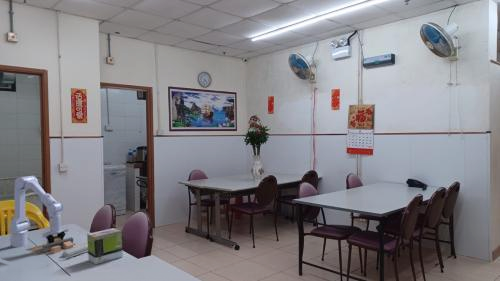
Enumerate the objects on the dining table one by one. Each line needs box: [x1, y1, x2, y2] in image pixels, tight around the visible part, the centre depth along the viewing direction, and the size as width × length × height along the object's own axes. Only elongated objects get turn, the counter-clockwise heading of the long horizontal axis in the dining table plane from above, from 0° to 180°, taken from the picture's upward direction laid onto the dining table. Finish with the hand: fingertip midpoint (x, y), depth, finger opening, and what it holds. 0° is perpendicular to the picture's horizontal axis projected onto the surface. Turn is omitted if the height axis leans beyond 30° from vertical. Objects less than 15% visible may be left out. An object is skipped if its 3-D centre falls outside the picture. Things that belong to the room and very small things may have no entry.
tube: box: [61, 242, 88, 260], centre depth 202 cm, size 5×5×25 cm
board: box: [25, 243, 77, 255], centre depth 209 cm, size 18×20×2 cm
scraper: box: [42, 234, 74, 254], centre depth 207 cm, size 9×17×5 cm, turn 150°
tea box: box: [86, 227, 124, 265], centre depth 192 cm, size 15×10×15 cm, turn 134°
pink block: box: [50, 246, 62, 254], centre depth 200 cm, size 4×4×3 cm
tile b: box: [63, 241, 75, 250], centre depth 208 cm, size 4×4×3 cm
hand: (56, 246), depth 207 cm, fingers closed on scraper, 4 cm apart
